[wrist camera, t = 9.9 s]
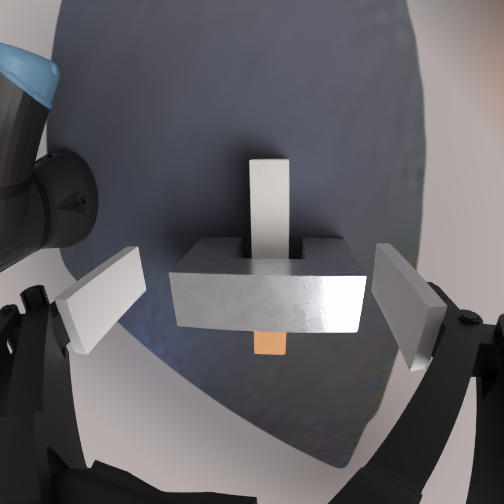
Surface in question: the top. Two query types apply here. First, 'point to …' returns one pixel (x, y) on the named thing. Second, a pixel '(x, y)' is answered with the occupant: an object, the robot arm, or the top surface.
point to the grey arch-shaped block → (268, 288)
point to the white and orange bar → (269, 229)
